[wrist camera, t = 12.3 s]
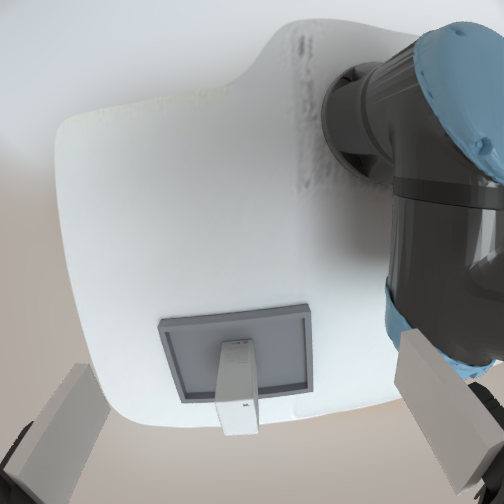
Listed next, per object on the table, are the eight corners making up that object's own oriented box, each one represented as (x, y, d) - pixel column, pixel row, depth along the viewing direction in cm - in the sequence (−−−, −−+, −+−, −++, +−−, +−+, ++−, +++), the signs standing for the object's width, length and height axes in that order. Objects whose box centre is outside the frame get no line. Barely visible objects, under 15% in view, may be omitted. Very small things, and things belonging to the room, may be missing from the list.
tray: (307, 303, 40) (310, 311, 38) (310, 382, 43) (313, 391, 41) (161, 319, 40) (157, 327, 38) (184, 394, 44) (181, 403, 42)
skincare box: (220, 341, 40) (213, 401, 29) (252, 337, 40) (254, 398, 29) (228, 375, 42) (223, 436, 31) (257, 372, 42) (260, 434, 30)
